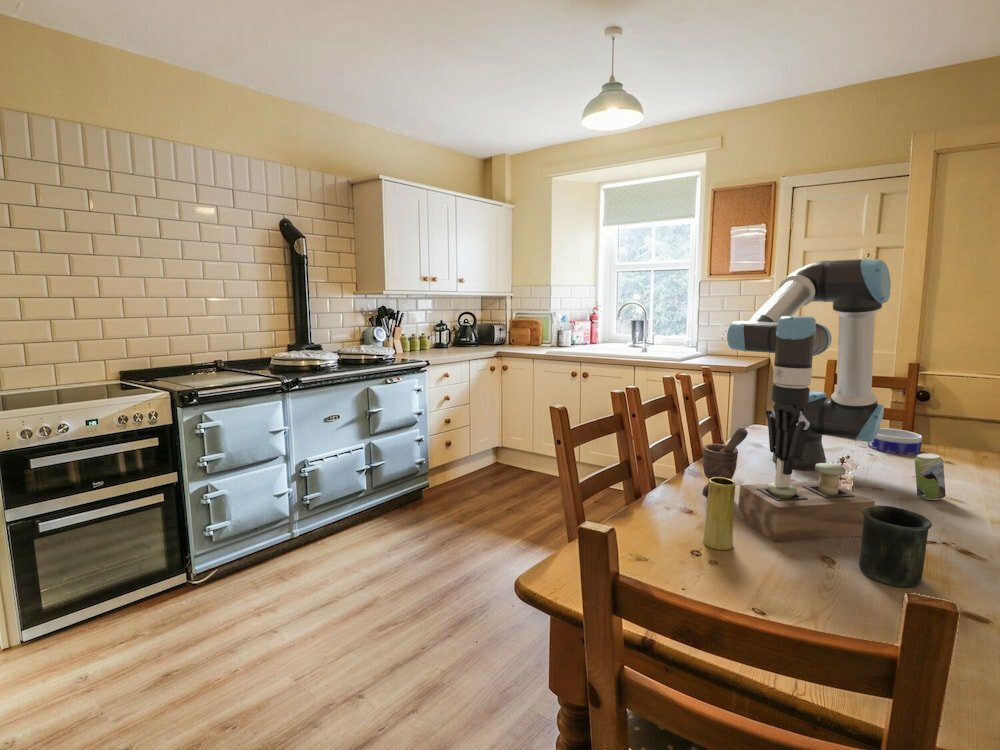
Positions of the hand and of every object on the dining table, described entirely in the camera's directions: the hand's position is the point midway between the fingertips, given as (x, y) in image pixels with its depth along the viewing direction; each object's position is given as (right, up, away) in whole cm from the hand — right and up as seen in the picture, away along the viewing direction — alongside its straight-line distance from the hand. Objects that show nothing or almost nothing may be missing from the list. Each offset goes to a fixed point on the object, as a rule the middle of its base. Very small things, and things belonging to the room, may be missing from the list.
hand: (782, 486), depth 127 cm
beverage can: (+50, -8, +21) cm, 54 cm away
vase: (-18, -11, -7) cm, 22 cm away
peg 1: (0, -8, +1) cm, 8 cm away
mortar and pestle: (-5, -7, +21) cm, 23 cm away
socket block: (+6, -10, +2) cm, 12 cm away
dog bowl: (+74, -1, +68) cm, 101 cm away
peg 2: (+12, -4, +3) cm, 13 cm away
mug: (+11, -13, -19) cm, 26 cm away
